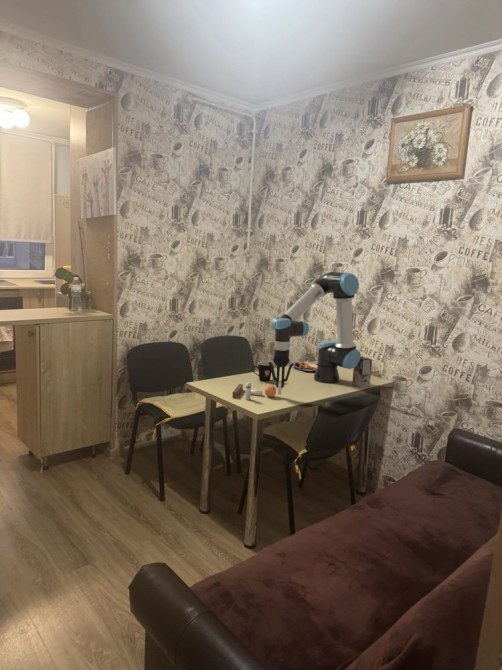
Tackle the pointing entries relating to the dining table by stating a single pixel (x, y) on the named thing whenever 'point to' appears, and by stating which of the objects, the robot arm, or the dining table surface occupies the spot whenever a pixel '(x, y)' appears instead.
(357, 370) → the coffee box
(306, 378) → the dining table surface
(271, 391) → the ball
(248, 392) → the side pin
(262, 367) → the coffee mug
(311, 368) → the food plate
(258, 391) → the pin
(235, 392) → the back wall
